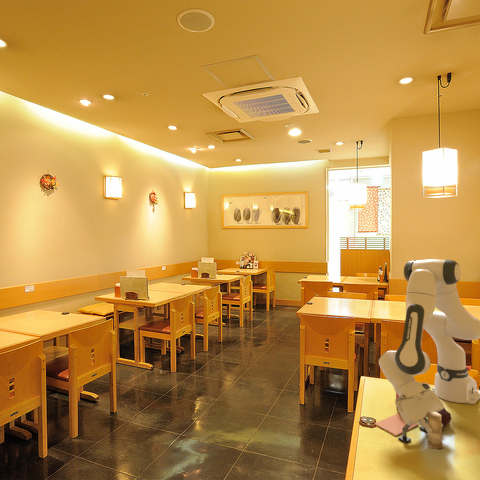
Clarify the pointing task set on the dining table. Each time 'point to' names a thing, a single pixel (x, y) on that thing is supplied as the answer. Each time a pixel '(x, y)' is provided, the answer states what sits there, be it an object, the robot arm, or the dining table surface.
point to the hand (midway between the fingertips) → (436, 430)
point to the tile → (394, 425)
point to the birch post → (435, 430)
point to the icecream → (445, 417)
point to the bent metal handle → (404, 433)
